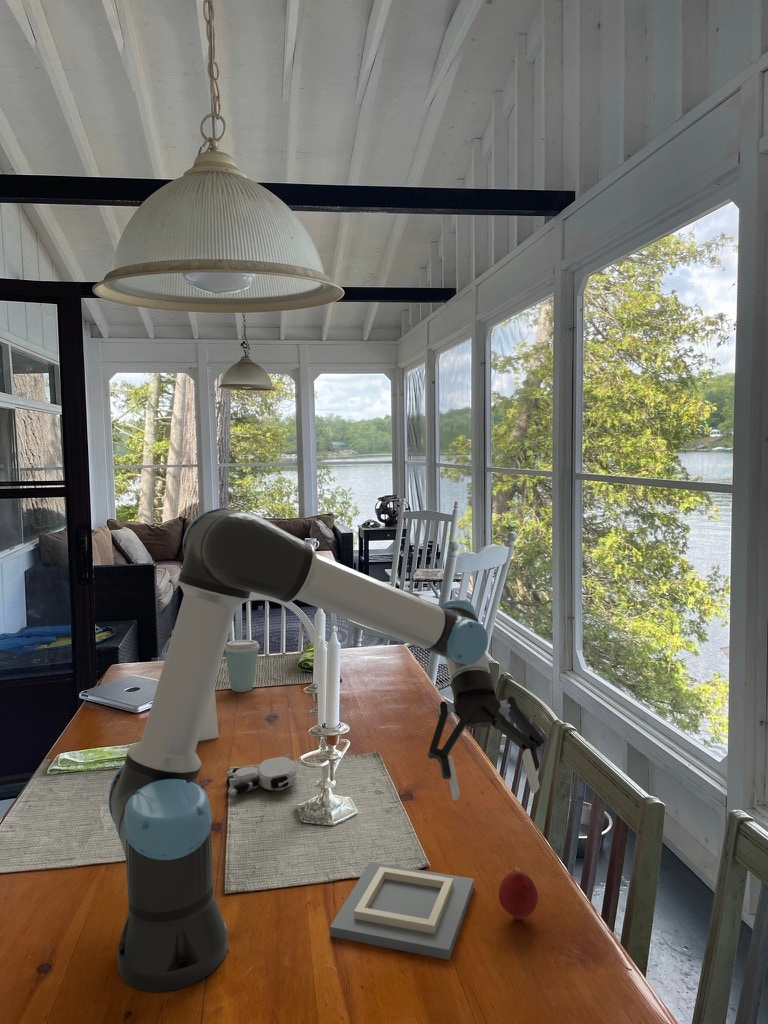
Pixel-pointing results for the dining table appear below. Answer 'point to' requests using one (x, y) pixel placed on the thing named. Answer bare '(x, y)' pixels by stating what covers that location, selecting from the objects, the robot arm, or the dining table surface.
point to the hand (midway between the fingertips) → (496, 793)
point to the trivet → (405, 910)
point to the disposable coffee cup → (241, 663)
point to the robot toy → (263, 776)
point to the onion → (518, 894)
